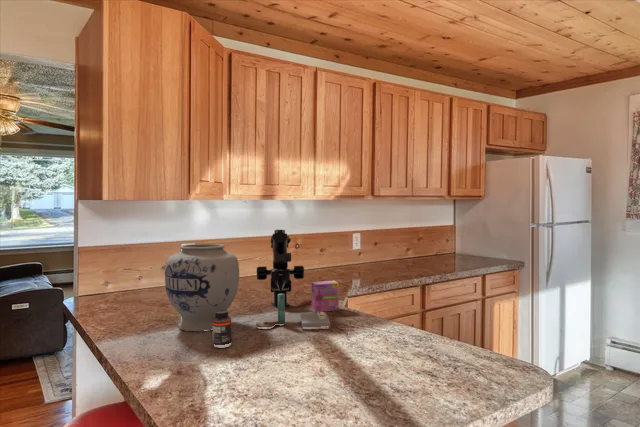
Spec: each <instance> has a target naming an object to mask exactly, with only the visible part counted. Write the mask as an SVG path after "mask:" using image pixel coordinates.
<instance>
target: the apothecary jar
mask: <svg viewBox="0 0 640 427" xmlns="http://www.w3.org/2000/svg"><path fill="white" fill-rule="evenodd" d="M224 248H225V244H222V243H220V244H219V243H198V244H197V243H193V244H191V243H190V244H183V245H180V249H181V251H180V252H176V253H174V254H172V255H171V256H169V257H168V258H167V260H166V262H165V266H164V285H165V291H166V295H167V298H168V300H169V302H170V304H171V305H172V306H173V308H174V310H176V311H177V313H178V314H179V315H180V317H181V318H182V319H181V321H180V322H179V323H178V324H177V327H178V329H179V330H181V329H182V330H181V331H183V330H186V331H185V332H188V331H204V330H211V329H213V328H212V321H213V319H214V318H215V312H216V311H217V310H228V309H229V307H231V305H232V304H233V302H234V300H235V299H236V296H237V293H238V289H239V284H240V283H239V282H240V264H239V260H238V257H237V256H236V255H235V254H234V253H232V252H229V251H226V250H225V249H224Z"/></svg>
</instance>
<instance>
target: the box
mask: <svg viewBox="0 0 640 427" xmlns="http://www.w3.org/2000/svg"><path fill="white" fill-rule="evenodd" d="M339 297H340V296H339V282H338V281H336V280H324V281H323V280H322V281H311V310H312V311H313V312H314V311H315V312H323V311H325V312H331V311H332V312H333V311H339V309H340V308H339V307H340V306H339V300H340V299H339Z"/></svg>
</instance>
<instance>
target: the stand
mask: <svg viewBox="0 0 640 427" xmlns="http://www.w3.org/2000/svg"><path fill="white" fill-rule="evenodd" d="M299 314H300V315H299V316H300V318H301V320H300V324H301V323H302V325H301V328H302V327H321V326H330V327H331V321H330V318H329V316H328V313H327V311H325V312H314V311H313V312H300V313H299Z"/></svg>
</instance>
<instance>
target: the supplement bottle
mask: <svg viewBox="0 0 640 427" xmlns="http://www.w3.org/2000/svg"><path fill="white" fill-rule="evenodd" d="M212 328H213V331H212V345H213V344H215V345H225V344H229V343H231V342H232V343H233V336H232V334H233V333H232V330H233V328H232V318H231V317H230V316H229V310H228V309H227V310H217V311H216V312H215V318H214V319H213V321H212Z"/></svg>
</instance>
